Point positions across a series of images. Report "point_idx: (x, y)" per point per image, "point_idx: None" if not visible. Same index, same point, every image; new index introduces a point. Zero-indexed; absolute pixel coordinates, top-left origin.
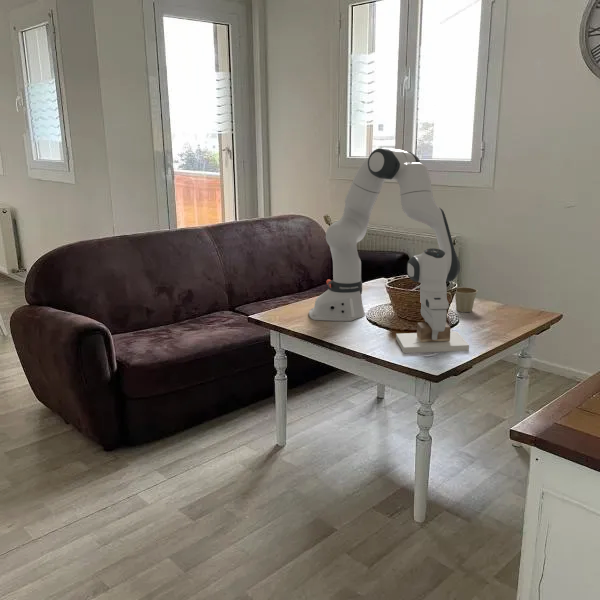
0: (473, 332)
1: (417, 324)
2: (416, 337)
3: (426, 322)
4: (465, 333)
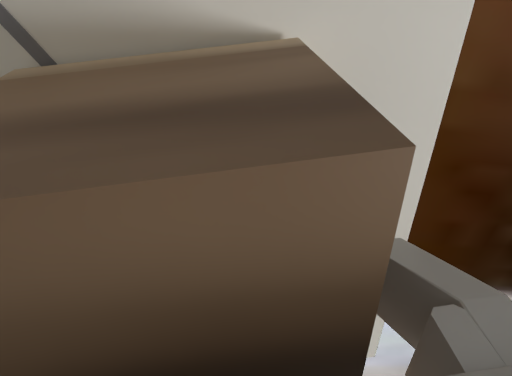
0: (406, 370)
1: (347, 126)
2: (261, 24)
3: (356, 338)
4: (404, 348)
